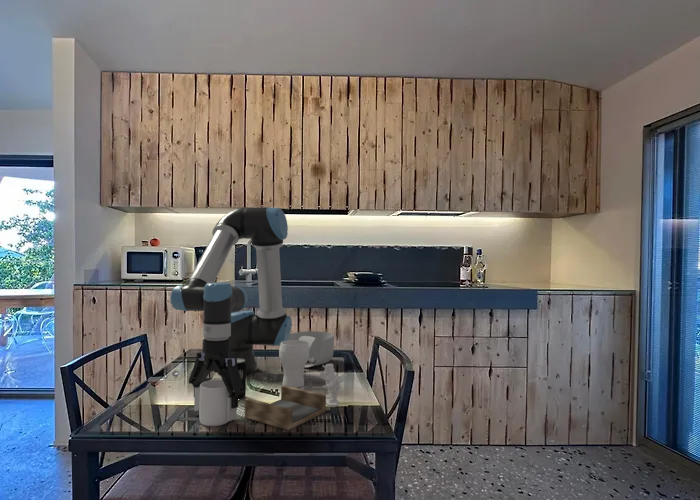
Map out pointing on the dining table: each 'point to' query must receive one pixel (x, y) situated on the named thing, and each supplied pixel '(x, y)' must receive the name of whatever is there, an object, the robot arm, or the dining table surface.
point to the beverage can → (242, 374)
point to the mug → (213, 403)
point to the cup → (293, 361)
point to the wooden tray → (287, 408)
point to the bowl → (316, 345)
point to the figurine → (330, 385)
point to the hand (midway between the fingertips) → (214, 414)
